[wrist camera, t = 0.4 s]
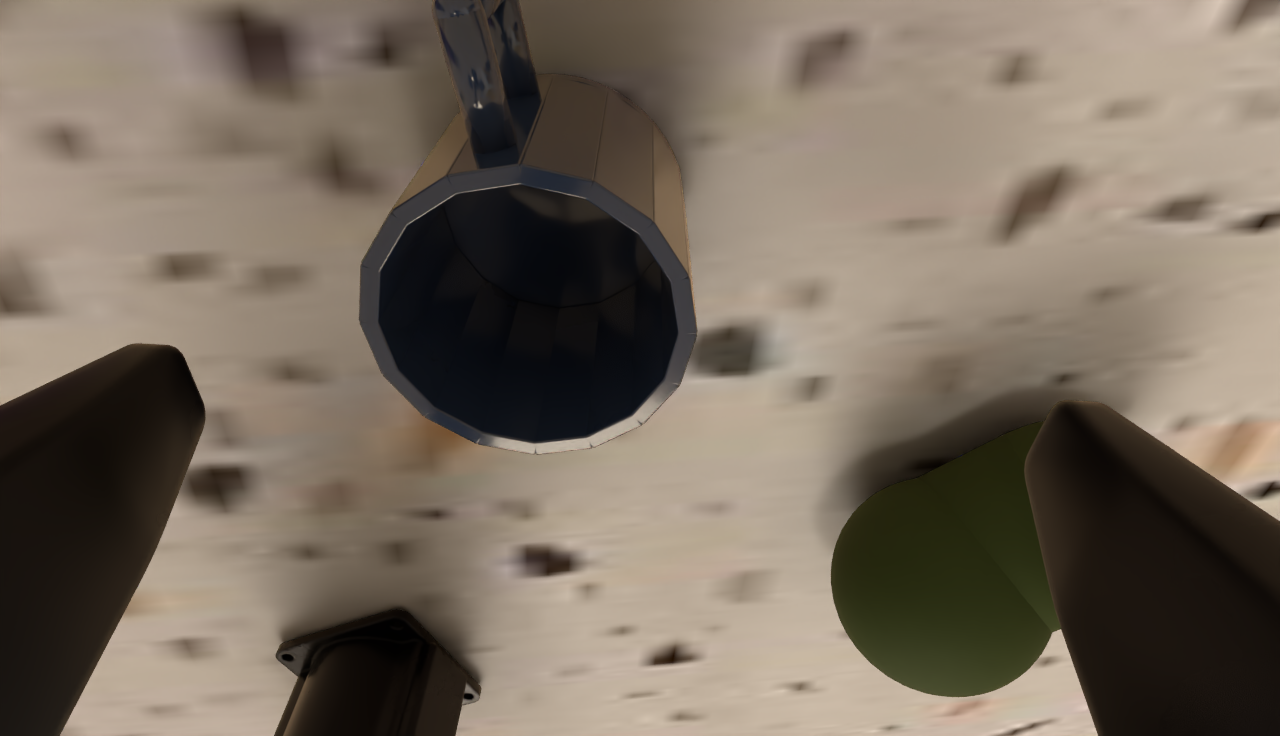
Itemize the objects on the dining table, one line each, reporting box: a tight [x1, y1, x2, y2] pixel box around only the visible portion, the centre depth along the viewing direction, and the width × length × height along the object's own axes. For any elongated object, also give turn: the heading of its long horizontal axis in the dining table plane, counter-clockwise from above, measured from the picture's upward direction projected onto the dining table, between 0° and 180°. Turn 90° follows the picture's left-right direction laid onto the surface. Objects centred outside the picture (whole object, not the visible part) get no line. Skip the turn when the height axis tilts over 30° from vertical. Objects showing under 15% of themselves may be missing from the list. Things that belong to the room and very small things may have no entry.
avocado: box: [831, 421, 1169, 697], centre depth 24 cm, size 11×7×7 cm, turn 129°
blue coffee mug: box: [359, 0, 697, 455], centre depth 17 cm, size 10×7×6 cm
